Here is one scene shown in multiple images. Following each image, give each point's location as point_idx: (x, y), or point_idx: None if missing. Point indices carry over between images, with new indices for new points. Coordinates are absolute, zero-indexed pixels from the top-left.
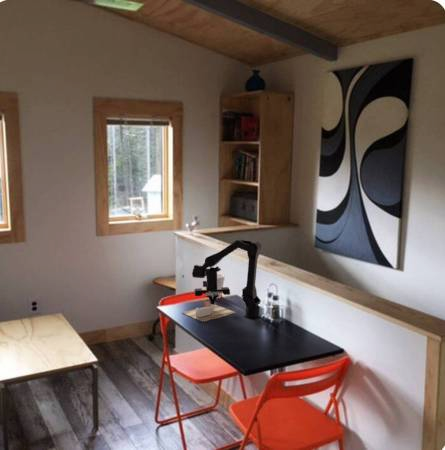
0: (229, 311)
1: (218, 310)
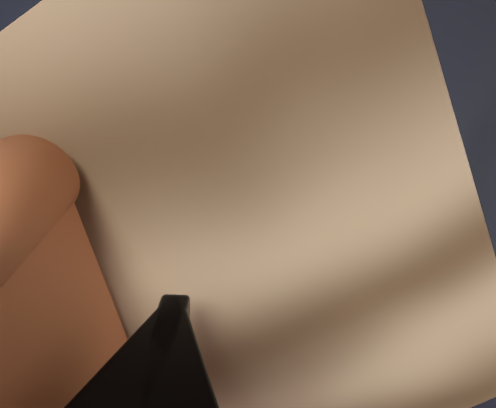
0: (461, 349)
1: (298, 307)
